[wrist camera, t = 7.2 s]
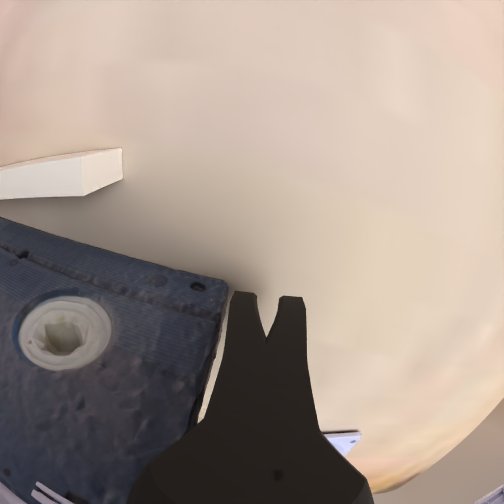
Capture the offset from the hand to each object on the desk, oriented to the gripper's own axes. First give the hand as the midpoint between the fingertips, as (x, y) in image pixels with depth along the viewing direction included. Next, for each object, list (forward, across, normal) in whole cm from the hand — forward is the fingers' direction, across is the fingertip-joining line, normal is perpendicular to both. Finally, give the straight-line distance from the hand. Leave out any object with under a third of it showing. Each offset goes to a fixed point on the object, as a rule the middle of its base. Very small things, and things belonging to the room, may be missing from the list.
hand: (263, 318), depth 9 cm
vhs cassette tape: (+2, +10, 0) cm, 11 cm away
